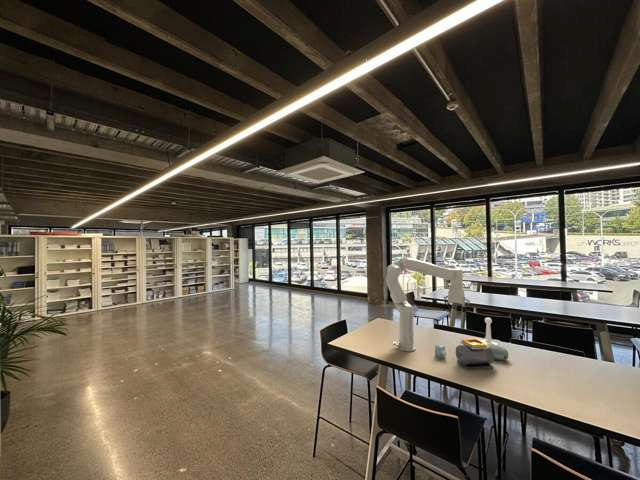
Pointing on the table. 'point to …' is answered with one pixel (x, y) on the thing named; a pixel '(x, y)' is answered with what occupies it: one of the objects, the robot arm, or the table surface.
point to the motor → (474, 354)
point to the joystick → (488, 333)
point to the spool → (499, 352)
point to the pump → (440, 351)
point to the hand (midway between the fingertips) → (456, 310)
